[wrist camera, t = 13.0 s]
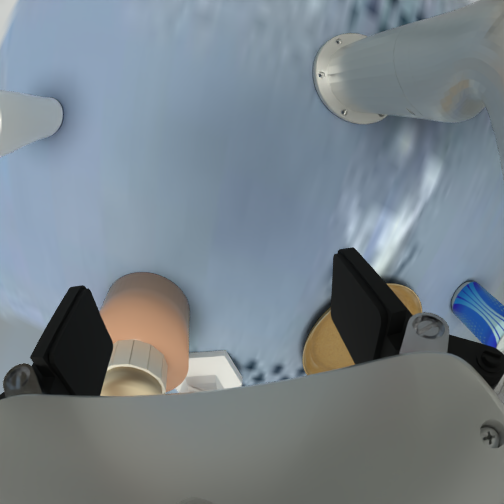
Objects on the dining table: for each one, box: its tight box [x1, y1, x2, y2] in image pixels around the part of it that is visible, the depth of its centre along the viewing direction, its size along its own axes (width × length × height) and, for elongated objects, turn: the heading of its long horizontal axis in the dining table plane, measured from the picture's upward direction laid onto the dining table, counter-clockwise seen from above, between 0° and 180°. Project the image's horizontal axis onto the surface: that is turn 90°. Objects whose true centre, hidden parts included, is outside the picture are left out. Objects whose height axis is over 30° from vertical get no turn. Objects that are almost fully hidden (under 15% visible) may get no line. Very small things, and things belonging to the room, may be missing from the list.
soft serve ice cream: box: [175, 350, 242, 393], centre depth 45 cm, size 12×15×14 cm
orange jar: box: [99, 272, 190, 394], centre depth 37 cm, size 13×13×15 cm
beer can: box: [452, 282, 504, 352], centre depth 47 cm, size 8×8×16 cm
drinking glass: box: [0, 90, 63, 158], centre depth 23 cm, size 7×7×15 cm
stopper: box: [100, 367, 162, 396], centre depth 30 cm, size 7×7×6 cm
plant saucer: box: [302, 283, 422, 375], centre depth 51 cm, size 24×24×3 cm
